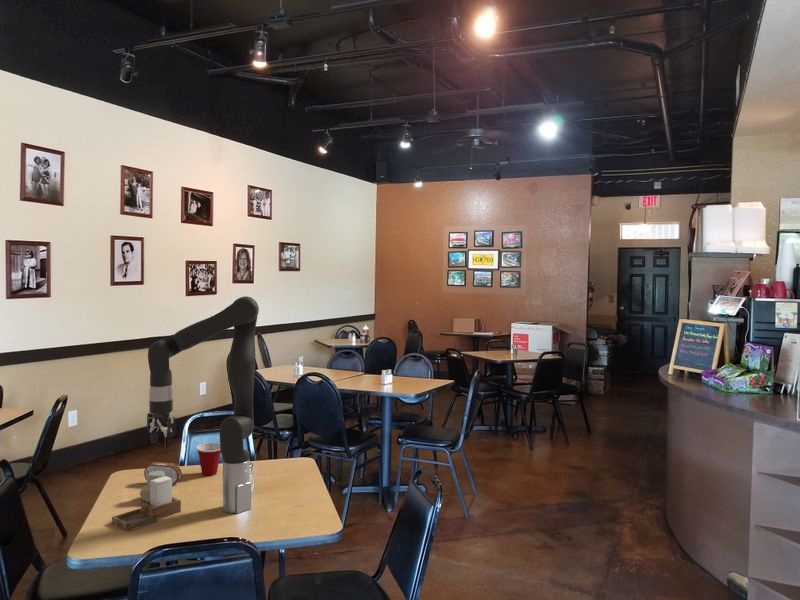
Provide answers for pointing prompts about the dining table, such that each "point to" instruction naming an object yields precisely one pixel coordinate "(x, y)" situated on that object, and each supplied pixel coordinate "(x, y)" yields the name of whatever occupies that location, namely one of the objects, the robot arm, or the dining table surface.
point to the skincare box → (160, 491)
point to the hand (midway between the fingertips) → (161, 445)
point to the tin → (165, 470)
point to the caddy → (146, 514)
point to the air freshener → (146, 489)
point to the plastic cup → (209, 458)
